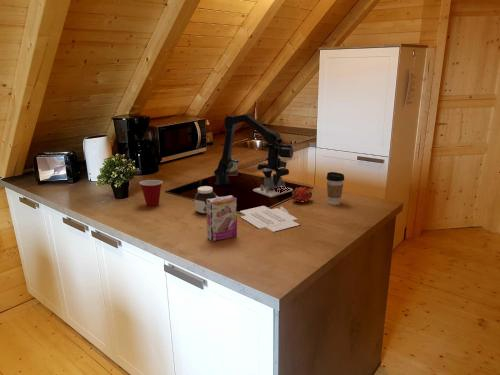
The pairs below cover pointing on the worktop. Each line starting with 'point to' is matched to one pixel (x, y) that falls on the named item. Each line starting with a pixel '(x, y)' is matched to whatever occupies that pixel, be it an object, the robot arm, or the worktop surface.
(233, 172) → the food container
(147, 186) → the plastic cup
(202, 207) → the spread jar
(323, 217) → the worktop surface
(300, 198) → the dragon fruit
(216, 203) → the candy bar box
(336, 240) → the worktop surface
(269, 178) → the drive
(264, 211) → the paper stack
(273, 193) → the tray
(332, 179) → the coffee cup
